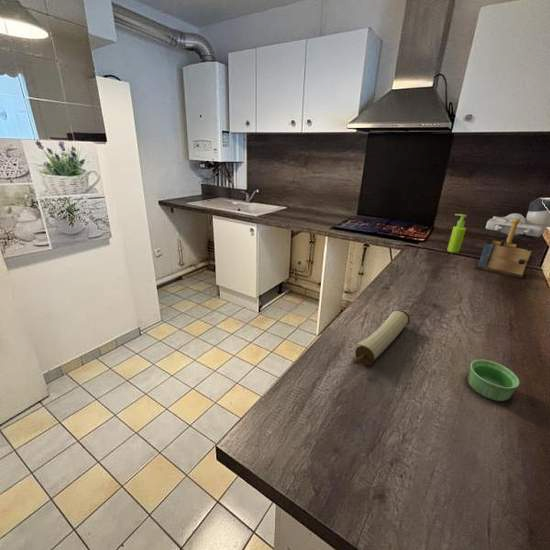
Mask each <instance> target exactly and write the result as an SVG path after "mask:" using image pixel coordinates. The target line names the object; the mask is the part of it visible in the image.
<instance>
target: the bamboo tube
mask: <svg viewBox="0 0 550 550" xmlns="http://www.w3.org/2000/svg"><path fill="white" fill-rule="evenodd" d="M410 322H411V318H410V315H409V314H408V313H407V312H406V311H404V310H395V311H394V310H393V311H392V312H391V313H390V315H389V316H388V317H387V318H386V320H385V321H384V322H383V323H382V324H381V326H380V327H379V328H377V329H376V330H375V331H374V332H373V333H372V334H370V335H369V336H368V337H365V338H364V339H363V340H361V341H359V342H357V345H359V346H357V347H356V349H355V351H354V352H355V357H356V358H354V360H353V363H354V364H355V365H358V364H360V363H361V364H363V365H366V366H370V365H372V364H374V362H375V360H376V359H377V358H378V357H379V356H380V355H381V354H382V353H383V352H384V351H385V350H386V349H387V348H388V347H389V346H390V345H391V343H393V341H395V339H396V338H397V337H398V335H400V333H401V332H402V331H403V329H404V328H405V327H406V326H409V324H410Z"/></svg>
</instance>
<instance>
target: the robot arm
mask: <svg viewBox="0 0 550 550" xmlns="http://www.w3.org/2000/svg"><path fill="white" fill-rule="evenodd" d="M545 198H546V197H537V198H536V199H534V200H532V201H531V202H530V203H529V204H528V205H529V206H528V211H527V214H526V217H525V216H524V215H523V214H520V213H517V212H515V213H509V214H507V215H506V216H493V217H492V218H489V219H488V220H487V221H486V225H485V230H489V231H494V232H498V233H502V234H505V235H507V236H508V235H509V232H510V229H511V227H512V224H513V223H512V220H513V219H515V218H518V219H520V223H519V224H518V225H517V228H516V231H515V233H514V236H520V237H522V238H527V239H539V238H542V237H544V236H543V233H544V230H545V228H546V227H550V214H549V213H548V211H547V210H546V208H545V207H544V205H543V204H542V199H544V200H543V203H544V204H545V206H546V207H547V208H548V210H550V199H545Z"/></svg>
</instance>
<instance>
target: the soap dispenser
mask: <svg viewBox="0 0 550 550" xmlns="http://www.w3.org/2000/svg"><path fill="white" fill-rule="evenodd" d="M454 216H460V218H459V219H458V220H457V223H456V226H455V225H454V226H453V227H452V231H451V234H450V237H449V241H448V245H447V248H446V251H447V252H450V253H454V254H458V253H460V251H461V247H462V244H463V240H464V237H465V234H466V230H467V228H466V227H465V224H466V221H465V218H467V217H468V216H467V214H463V213H454Z"/></svg>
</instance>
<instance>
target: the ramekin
mask: <svg viewBox="0 0 550 550" xmlns="http://www.w3.org/2000/svg"><path fill="white" fill-rule="evenodd" d="M467 381H468V384H469V386H470V387H471V388H472V389H473V390H474V391H475V392H476V393H477V394H479V395H481V396H482V397H485V398H486V399H489V400H493V401H496V402H504V401H508V400H510V398H511V397H512V395H513V394H514V392H515V391H516V389H517V388H518V387H519V386H520V383H521V382H520V379H519V377H518V376H517V374H515V373H514V371H512V370H511V369H510V368H507V367H506V366H504V365H502V364H501V363H498V362H495V361H492V360H488V359H475V360H472V361H471V363H470V365H469V373H468V377H467Z"/></svg>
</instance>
